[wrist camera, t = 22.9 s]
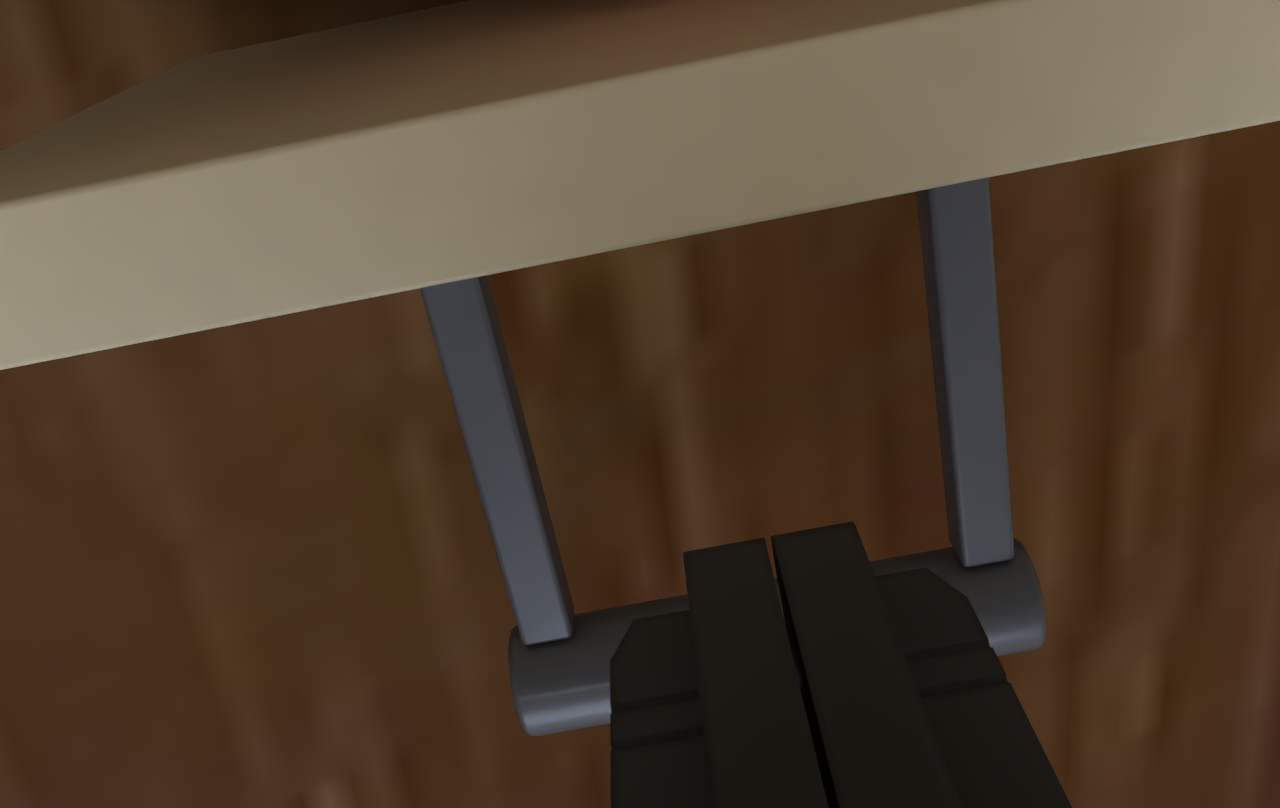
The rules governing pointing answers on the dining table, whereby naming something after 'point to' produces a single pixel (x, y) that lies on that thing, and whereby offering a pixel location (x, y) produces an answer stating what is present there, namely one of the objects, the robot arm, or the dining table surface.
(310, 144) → the drawer
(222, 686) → the dining table surface
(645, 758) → the robot arm
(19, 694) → the dining table surface
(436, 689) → the dining table surface
